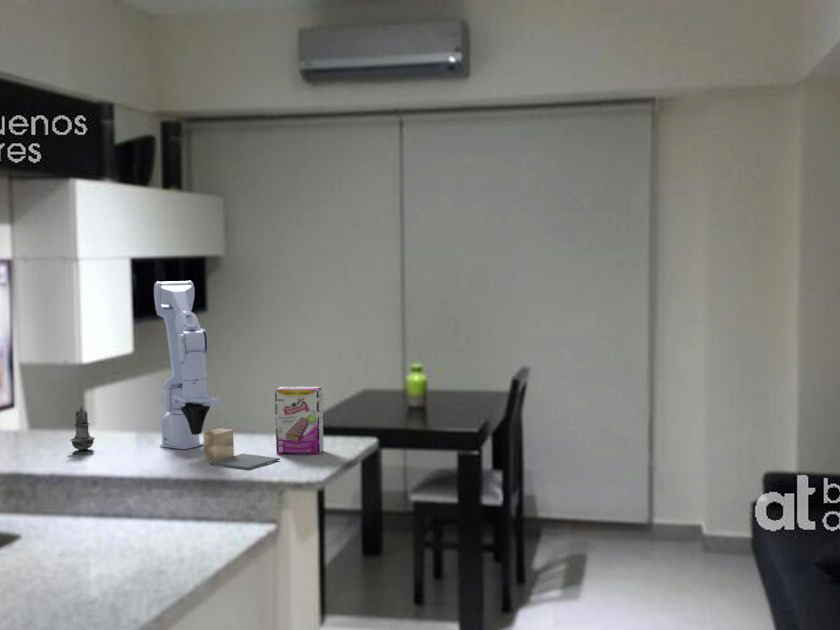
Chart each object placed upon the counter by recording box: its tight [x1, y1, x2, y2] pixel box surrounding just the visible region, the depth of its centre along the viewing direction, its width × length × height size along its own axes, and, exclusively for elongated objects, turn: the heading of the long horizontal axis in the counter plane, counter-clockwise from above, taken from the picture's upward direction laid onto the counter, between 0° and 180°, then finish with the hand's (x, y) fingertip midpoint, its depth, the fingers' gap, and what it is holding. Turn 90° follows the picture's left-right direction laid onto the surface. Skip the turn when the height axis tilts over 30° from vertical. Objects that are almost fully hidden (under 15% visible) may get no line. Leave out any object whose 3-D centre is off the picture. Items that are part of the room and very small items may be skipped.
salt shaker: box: [70, 406, 95, 456], centre depth 242 cm, size 6×6×12 cm
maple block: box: [203, 427, 235, 463], centre depth 230 cm, size 4×6×7 cm, turn 147°
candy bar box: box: [274, 386, 324, 455], centre depth 235 cm, size 11×5×16 cm, turn 84°
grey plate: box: [209, 453, 281, 471], centre depth 225 cm, size 12×11×1 cm
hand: (196, 434), depth 234 cm, fingers closed
